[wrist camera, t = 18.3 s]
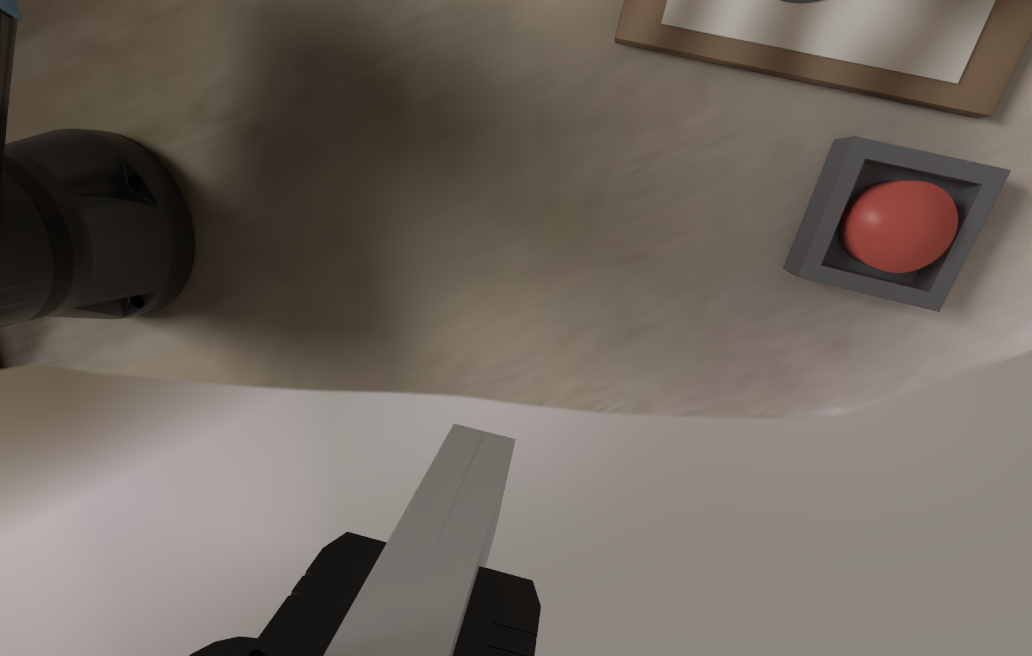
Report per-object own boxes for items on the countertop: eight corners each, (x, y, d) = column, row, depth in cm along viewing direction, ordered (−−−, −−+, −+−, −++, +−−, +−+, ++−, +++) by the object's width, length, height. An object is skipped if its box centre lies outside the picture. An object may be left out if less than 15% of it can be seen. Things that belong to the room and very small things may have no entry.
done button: (824, 254, 33) (840, 260, 31) (859, 171, 32) (878, 171, 29) (909, 275, 33) (931, 282, 30) (949, 191, 31) (975, 192, 29)
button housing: (783, 268, 35) (797, 276, 32) (834, 139, 33) (854, 136, 30) (912, 300, 34) (939, 311, 32) (975, 170, 32) (1010, 170, 29)
